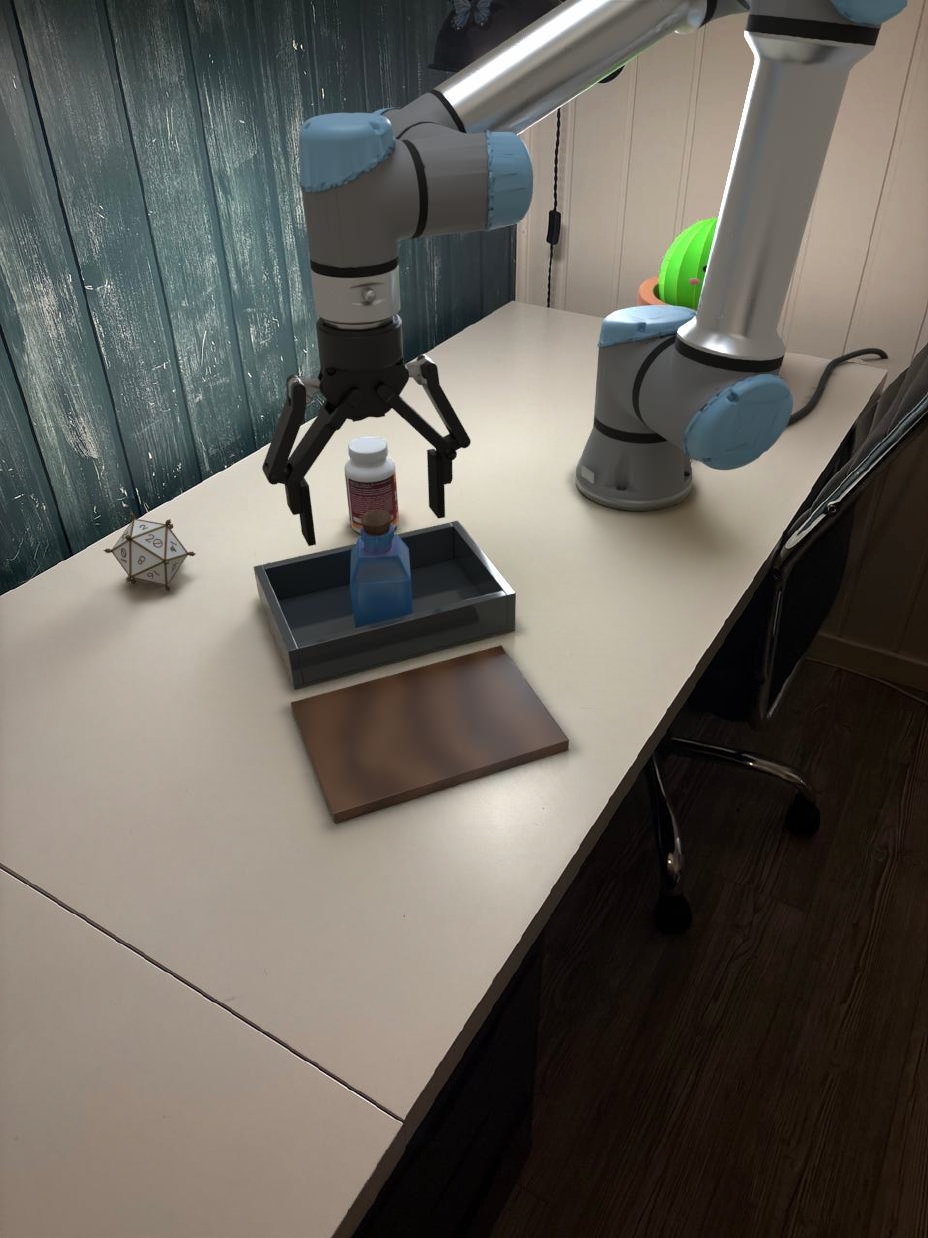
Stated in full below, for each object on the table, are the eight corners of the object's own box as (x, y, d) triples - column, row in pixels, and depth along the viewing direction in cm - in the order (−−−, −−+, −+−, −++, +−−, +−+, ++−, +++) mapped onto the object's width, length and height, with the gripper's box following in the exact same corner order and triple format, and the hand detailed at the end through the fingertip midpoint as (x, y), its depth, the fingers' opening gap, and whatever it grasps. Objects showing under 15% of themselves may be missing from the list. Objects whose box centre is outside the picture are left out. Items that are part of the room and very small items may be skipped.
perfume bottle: (356, 598, 102) (345, 504, 95) (411, 595, 102) (405, 500, 95) (355, 632, 97) (344, 535, 90) (413, 628, 97) (407, 532, 90)
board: (501, 653, 94) (501, 644, 94) (568, 749, 83) (569, 740, 83) (291, 711, 88) (290, 702, 87) (334, 823, 77) (333, 814, 76)
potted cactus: (630, 348, 162) (644, 196, 147) (758, 352, 160) (785, 198, 145) (631, 399, 145) (647, 232, 130) (774, 404, 142) (807, 235, 127)
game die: (181, 601, 109) (221, 538, 105) (135, 619, 101) (176, 552, 98) (126, 552, 110) (164, 488, 106) (77, 566, 102) (116, 497, 98)
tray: (458, 555, 109) (458, 520, 107) (515, 630, 98) (516, 592, 95) (260, 602, 102) (253, 566, 99) (294, 689, 90) (287, 651, 88)
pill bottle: (408, 527, 115) (403, 447, 108) (365, 542, 112) (357, 461, 106) (384, 506, 119) (377, 428, 112) (341, 521, 116) (332, 441, 110)
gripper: (223, 350, 74) (260, 570, 86) (506, 309, 81) (501, 517, 94) (207, 321, 79) (244, 532, 92) (473, 286, 87) (473, 485, 99)
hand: (374, 525), depth 93 cm, fingers open, 13 cm apart
